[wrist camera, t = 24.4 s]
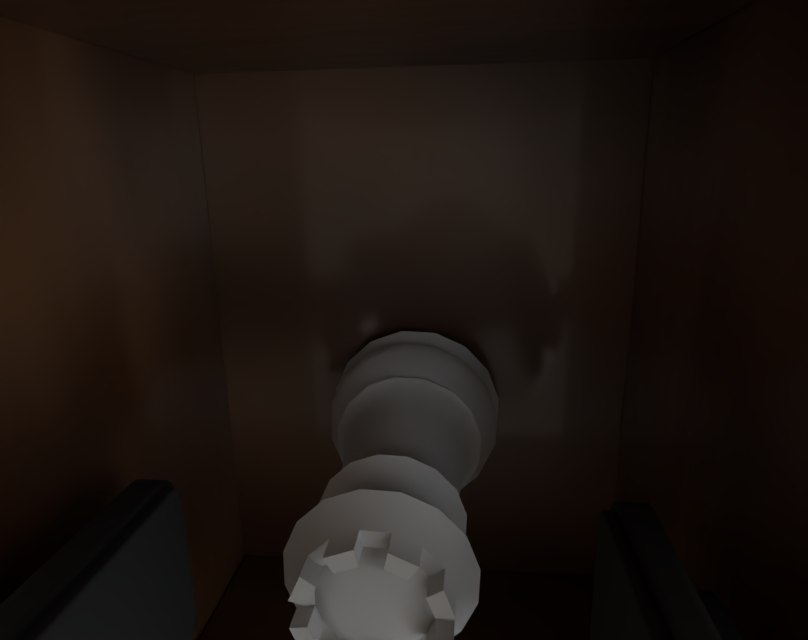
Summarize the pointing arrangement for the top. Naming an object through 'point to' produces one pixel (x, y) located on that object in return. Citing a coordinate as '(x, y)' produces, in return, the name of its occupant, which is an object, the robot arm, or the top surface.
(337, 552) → the rook chess piece
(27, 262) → the toy chest
